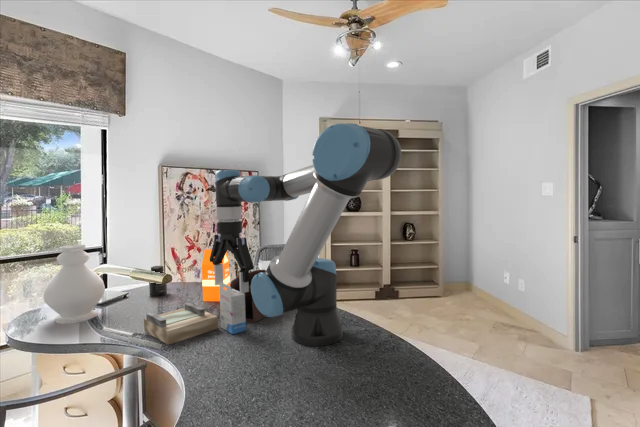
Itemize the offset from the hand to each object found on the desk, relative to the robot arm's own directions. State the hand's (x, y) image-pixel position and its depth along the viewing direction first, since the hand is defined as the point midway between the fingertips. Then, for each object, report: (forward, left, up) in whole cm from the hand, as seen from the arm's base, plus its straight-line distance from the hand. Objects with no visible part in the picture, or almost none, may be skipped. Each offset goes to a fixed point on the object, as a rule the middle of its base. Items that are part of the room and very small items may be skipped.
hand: (231, 288), depth 116 cm
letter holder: (+6, -16, -13) cm, 22 cm away
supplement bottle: (+57, -2, -13) cm, 58 cm away
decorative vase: (+52, +29, -13) cm, 61 cm away
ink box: (0, 0, -13) cm, 13 cm away
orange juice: (+33, -15, -13) cm, 38 cm away
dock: (+12, +11, -13) cm, 21 cm away
